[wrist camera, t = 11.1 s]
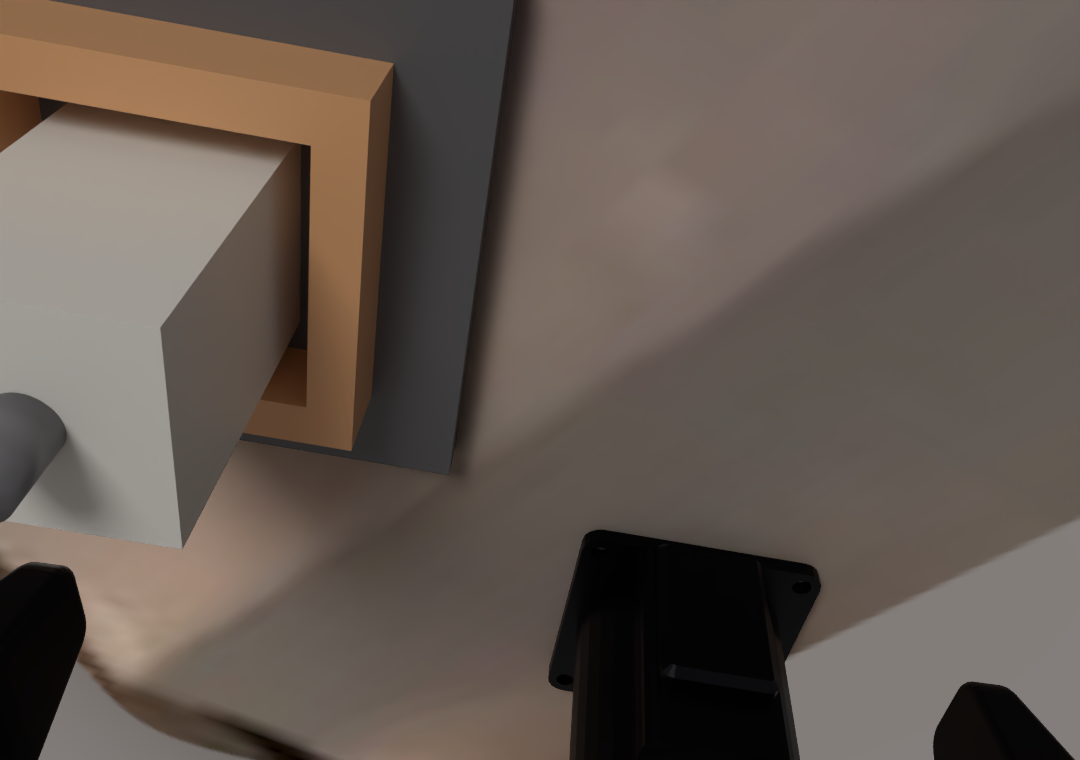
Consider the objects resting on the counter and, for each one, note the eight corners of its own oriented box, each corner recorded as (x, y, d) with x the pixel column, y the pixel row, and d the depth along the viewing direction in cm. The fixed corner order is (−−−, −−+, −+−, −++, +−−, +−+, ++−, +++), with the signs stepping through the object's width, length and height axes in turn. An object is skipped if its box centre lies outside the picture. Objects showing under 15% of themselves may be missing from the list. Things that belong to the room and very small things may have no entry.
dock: (454, 449, 25) (436, 532, 22) (-16, 368, 24) (-87, 445, 22) (523, -45, 18) (506, -2, 15) (-139, -169, 17) (-266, -146, 15)
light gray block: (300, 321, 21) (144, 621, 15) (103, 288, 21) (-148, 575, 14) (301, 134, 19) (112, 392, 12) (76, 96, 19) (-245, 333, 12)
